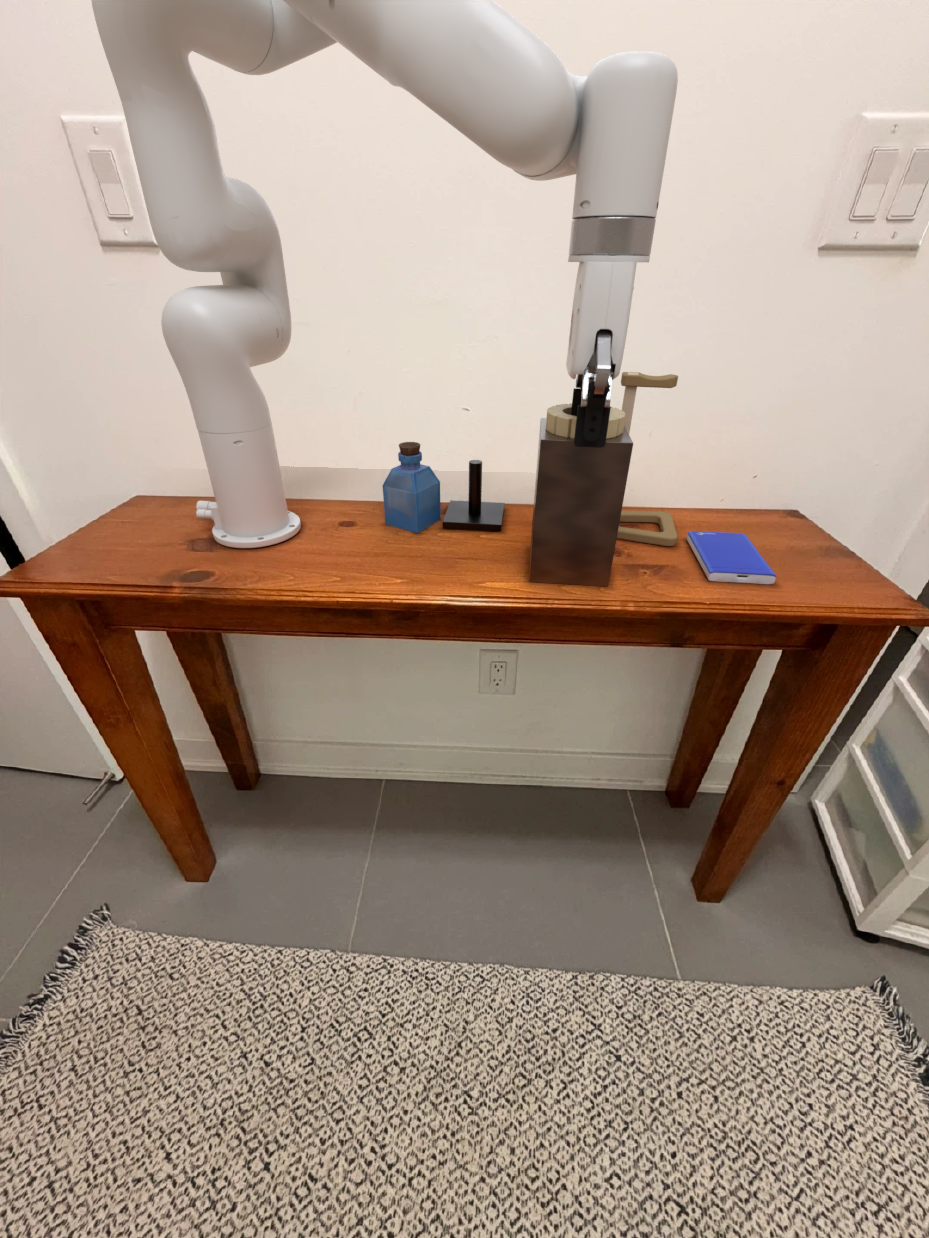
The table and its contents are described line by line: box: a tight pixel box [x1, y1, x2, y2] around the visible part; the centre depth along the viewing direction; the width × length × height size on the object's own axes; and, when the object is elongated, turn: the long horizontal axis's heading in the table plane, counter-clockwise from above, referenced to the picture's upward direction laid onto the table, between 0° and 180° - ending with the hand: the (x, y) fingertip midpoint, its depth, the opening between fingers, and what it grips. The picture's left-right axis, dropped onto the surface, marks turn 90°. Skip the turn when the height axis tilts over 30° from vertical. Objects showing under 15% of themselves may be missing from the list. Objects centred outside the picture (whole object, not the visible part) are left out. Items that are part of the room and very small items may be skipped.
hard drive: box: [686, 530, 777, 585], centre depth 74 cm, size 2×8×12 cm
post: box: [442, 459, 506, 533], centre depth 84 cm, size 9×9×9 cm
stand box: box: [528, 417, 634, 588], centre depth 68 cm, size 10×10×18 cm
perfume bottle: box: [381, 441, 442, 534], centre depth 82 cm, size 6×6×12 cm
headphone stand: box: [617, 371, 679, 547], centre depth 77 cm, size 10×11×22 cm
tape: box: [545, 402, 626, 439], centre depth 63 cm, size 9×9×2 cm
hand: (586, 434), depth 60 cm, fingers open, 8 cm apart
